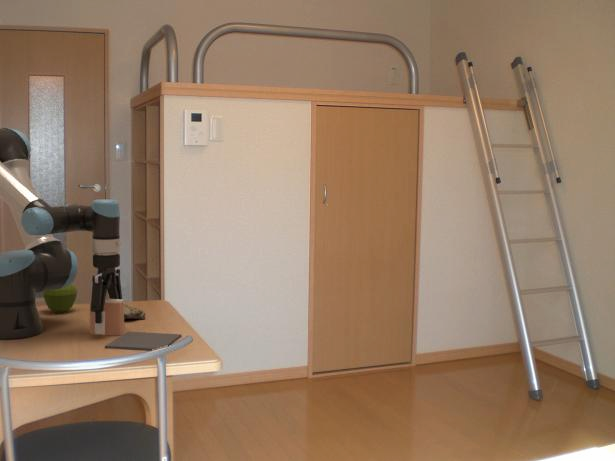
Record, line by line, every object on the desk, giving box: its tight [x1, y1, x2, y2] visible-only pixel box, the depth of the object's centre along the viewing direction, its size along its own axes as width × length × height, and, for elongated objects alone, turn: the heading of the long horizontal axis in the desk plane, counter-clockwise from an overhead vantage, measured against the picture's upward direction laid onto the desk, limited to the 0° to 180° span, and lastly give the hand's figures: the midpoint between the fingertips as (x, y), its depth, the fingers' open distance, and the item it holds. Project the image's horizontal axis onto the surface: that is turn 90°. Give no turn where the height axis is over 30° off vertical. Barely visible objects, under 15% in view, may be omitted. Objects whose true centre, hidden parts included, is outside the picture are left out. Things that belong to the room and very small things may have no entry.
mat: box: [104, 331, 182, 351], centre depth 193 cm, size 16×16×1 cm
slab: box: [89, 298, 125, 337], centre depth 201 cm, size 9×3×10 cm, turn 82°
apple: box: [42, 283, 78, 314], centre depth 229 cm, size 11×10×10 cm
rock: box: [124, 303, 146, 321], centre depth 221 cm, size 11×11×4 cm
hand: (107, 330), depth 202 cm, fingers open, 9 cm apart
